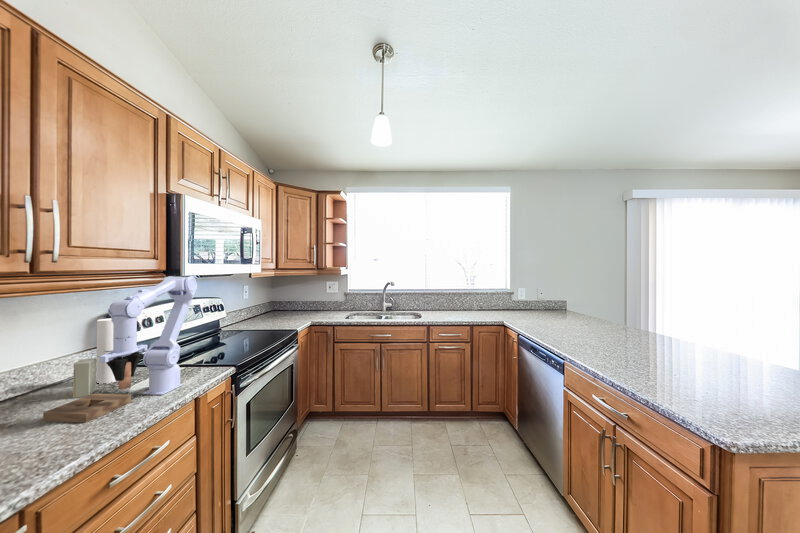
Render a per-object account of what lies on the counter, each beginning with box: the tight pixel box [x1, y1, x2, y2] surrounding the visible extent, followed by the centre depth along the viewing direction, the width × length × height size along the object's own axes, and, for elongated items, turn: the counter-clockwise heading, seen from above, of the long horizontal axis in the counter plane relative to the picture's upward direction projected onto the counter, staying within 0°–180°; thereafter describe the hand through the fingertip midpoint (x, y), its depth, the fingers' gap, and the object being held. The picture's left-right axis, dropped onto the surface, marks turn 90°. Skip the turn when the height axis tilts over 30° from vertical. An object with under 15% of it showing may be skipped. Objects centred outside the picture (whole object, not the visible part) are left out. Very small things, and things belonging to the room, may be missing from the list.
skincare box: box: [72, 357, 97, 399], centre depth 111 cm, size 6×4×12 cm
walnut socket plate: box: [42, 393, 132, 423], centre depth 98 cm, size 14×14×2 cm
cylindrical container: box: [96, 318, 117, 385], centre depth 125 cm, size 7×7×25 cm
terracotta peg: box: [118, 361, 132, 390], centre depth 100 cm, size 3×3×8 cm
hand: (124, 378), depth 100 cm, fingers closed on terracotta peg, 3 cm apart
